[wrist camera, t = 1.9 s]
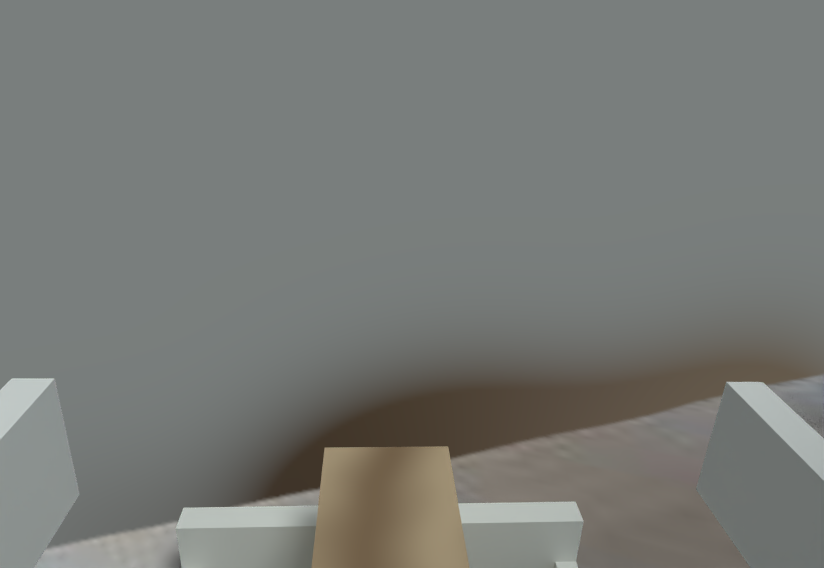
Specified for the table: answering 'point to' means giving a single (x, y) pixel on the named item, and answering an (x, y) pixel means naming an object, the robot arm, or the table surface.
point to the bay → (295, 530)
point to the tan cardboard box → (388, 510)
